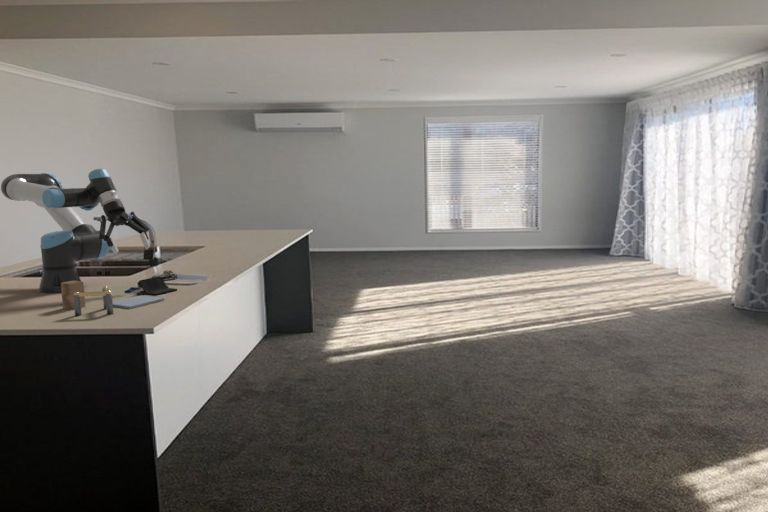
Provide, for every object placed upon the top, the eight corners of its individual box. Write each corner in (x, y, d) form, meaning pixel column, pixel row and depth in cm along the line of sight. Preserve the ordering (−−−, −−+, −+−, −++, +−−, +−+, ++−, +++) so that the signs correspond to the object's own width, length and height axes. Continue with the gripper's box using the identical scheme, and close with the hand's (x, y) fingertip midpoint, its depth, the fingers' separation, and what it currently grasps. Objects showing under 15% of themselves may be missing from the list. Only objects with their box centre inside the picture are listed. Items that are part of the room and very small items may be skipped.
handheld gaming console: (160, 292, 227) (148, 270, 228) (148, 302, 228) (135, 281, 230) (179, 290, 238) (167, 270, 239) (167, 300, 239) (155, 280, 241)
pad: (106, 305, 211) (106, 303, 211) (141, 297, 224) (141, 295, 224) (130, 308, 206) (129, 306, 206) (164, 300, 219) (163, 298, 219)
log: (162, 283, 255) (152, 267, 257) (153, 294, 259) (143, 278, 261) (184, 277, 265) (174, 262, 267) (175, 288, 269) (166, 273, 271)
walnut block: (63, 308, 208) (60, 282, 206) (76, 305, 212) (74, 280, 211) (72, 309, 205) (70, 284, 204) (85, 306, 210) (83, 281, 209)
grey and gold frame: (73, 315, 197) (71, 292, 196) (107, 307, 208) (105, 285, 207) (93, 318, 192) (91, 294, 191) (127, 310, 204) (125, 287, 202)
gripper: (84, 202, 226) (106, 251, 223) (143, 196, 246) (164, 241, 243) (77, 212, 231) (98, 260, 227) (136, 206, 251) (156, 249, 247)
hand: (132, 250), depth 235 cm, fingers open, 13 cm apart
